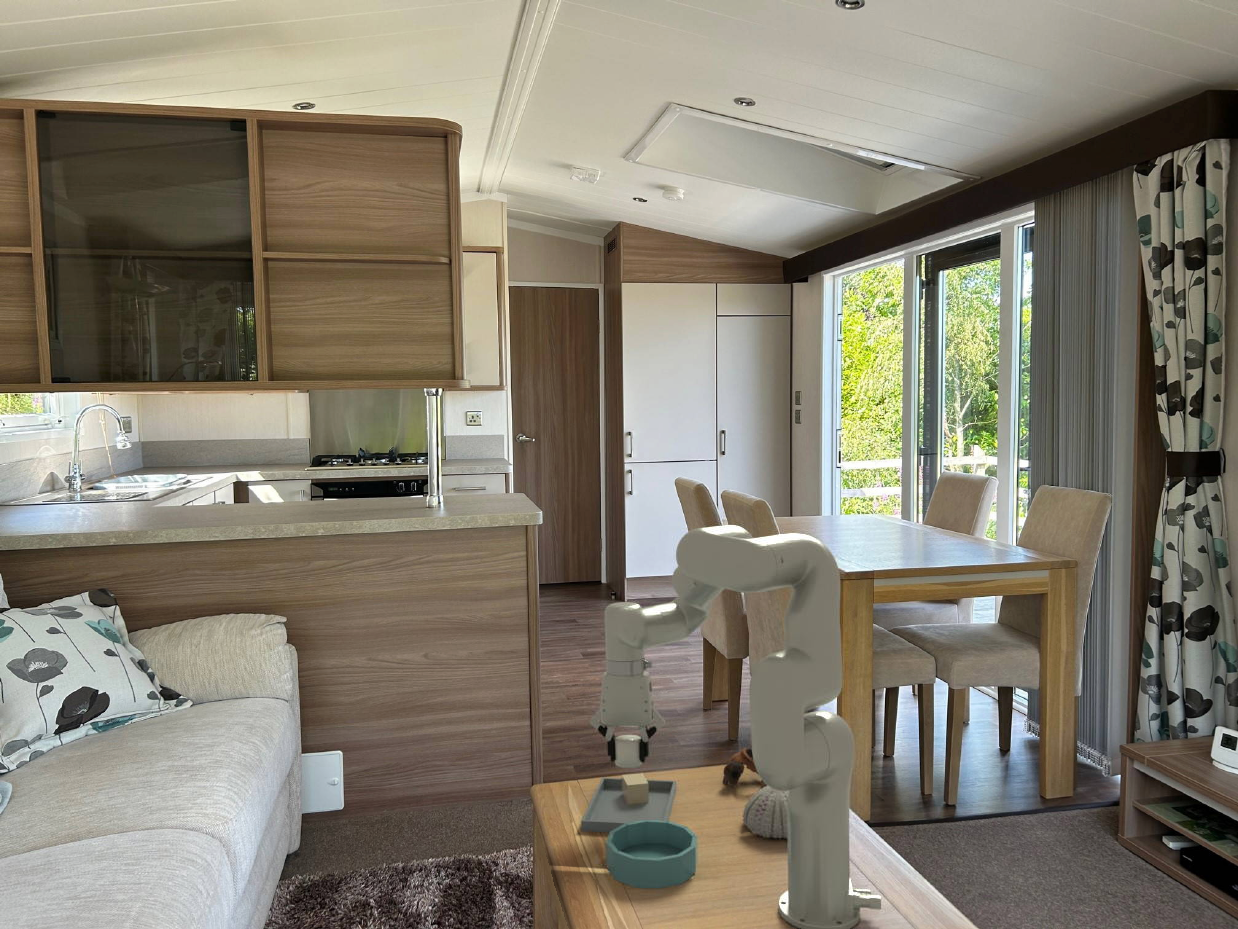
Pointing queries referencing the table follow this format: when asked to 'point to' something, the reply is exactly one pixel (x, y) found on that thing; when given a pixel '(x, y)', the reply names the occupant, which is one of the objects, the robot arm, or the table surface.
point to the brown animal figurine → (739, 767)
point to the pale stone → (627, 751)
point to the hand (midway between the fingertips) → (628, 758)
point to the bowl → (651, 854)
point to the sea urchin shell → (767, 813)
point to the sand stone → (635, 788)
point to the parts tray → (626, 805)
